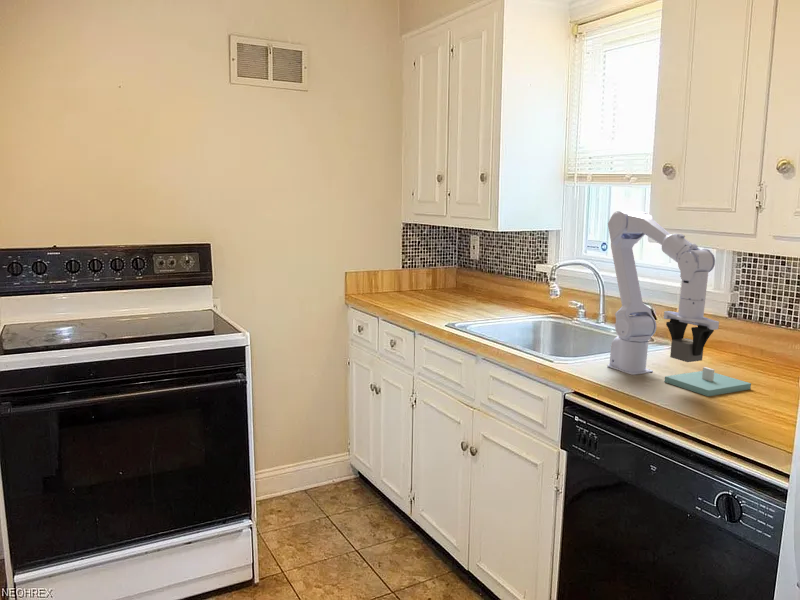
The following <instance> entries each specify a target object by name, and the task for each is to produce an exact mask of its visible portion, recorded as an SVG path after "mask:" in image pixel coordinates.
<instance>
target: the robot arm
mask: <svg viewBox="0 0 800 600" xmlns="http://www.w3.org/2000/svg"><path fill="white" fill-rule="evenodd" d="M607 228H608V232H609V239H610V248H611V256H612V260H613V264H614V269H615V275H616V280H617V285H618V291H619V297H620V302H621V303H620V304H621V307H620V308H619V309H618V310H617V311H616V312H615V314H614V315H615V325H614V328H615V332H616V334H617V336H616V337H614V339H613V340H612V341H611V343H610V344H611V345H610V351H609V352H610V355H609V363H608V364H607V365H606V366H607V367H608V368H611V369H613V370H617V371H620V372H623V373H625V374H628V375H631V376H636V375H641V374H642V375H643V374H648V373H650V374H651V373H653V370H652V369H650V368H647V359H648V348H649V341H650V340H651V337H652V336H654V335H655V333H656V331H657V322H656V319H655V317H654V316H653V314H652V309H651V308H650V307H649V306H647V305H646V304H645V303H644V302H643V298H642V294H641V289H640V288H641V286H640V281H639V278H638V271H637V268H636V261H635V256H634V251H633V248H634V246H635V245H636V244H637V243H638V242H640V240H642V239H643V237H644V236H647V237H648V238H650V239H652V240H653V241H655V242H656V243H658V244H660V245H661V251H662V252H663V253H664V254H665V255H666V256H668V257H669V258H670V259H672V260H673V261H675V262H676V263H677V266H678V269H679V273H680V275H679V276H680V279H681V284H680V286H681V287H680V294H679V304H678V311H671V310H664V311H663V319H664V320H669V321H666V322H665V324H666V327H667V328H668V329H667V330H668V331H669V334H670V338H671V341H672V340H675V339H684V337H685V336H684V335H685V333H686V329H687V327H688V324H689V325H694V326H693V327H691V328H690V329H691V333H692V340H693V355H694V356H698V355H701V353H702V350H703V351H704V348H705V345H706V343H707V342H708V339H709V338H710V337H711V336H712V335H713V333H714V332H715V330H719V324H720V321H718V320H714V319H712V318H708V317H705V316H704V314H705V308H706V307H705V304H706V297H707V287H708V278H709V273H710V272H711V271H713V269H714V267H715V264H716V259H715V255H714V254H713V253H712V251H711V250H710V249H707V248H702V249H701V248H699V247H698V245H697V244H696V243H692V242H690V241H689V240H688V239H686V238H685V237H686V236H685V235H684V234H683V233H672V234H671V233H670V232H669V231H668V230H666V229H665V228H664V227H663V226H662V225H661V224H659V223H658V222H657V221H656V220H655V219H654V216H653V215H651V214H649V213H648V212H646V211H621V210H617V211H615V212H613V213H612V215H611V216H610V219H609V220H608V222H607ZM703 347H704V348H703Z"/></svg>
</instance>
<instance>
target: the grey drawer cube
mask: <svg viewBox="0 0 800 600" xmlns="http://www.w3.org/2000/svg"><path fill="white" fill-rule="evenodd" d="M670 344H671V345H670V355H669V358H670V359H674V360H678V361H682V362H686V363H691V362H692V363H693V362H699V361H703V356H704V355H703V354H704V348H705V346H704V347H703V350H702V353H701V355H698V356H694V355H693V339H690V338H686V337H685V338H684V337H683V339H675V340H672V339H671V343H670Z"/></svg>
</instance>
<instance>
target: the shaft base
mask: <svg viewBox="0 0 800 600" xmlns="http://www.w3.org/2000/svg"><path fill="white" fill-rule="evenodd" d="M664 383H667V384H670V385H672V386H676V387H678V388H680V389H681V388H682V389H685V390H688V391H691V392H694V393H696V394H699V395H702V396H706V397H712V396H713V397H714V396H718V395H724V394H725V395H726V394H730V393H735V392H741V391H747V390H751V389H752V388H751V387H752V383H751V382H747V381H744V380H741V379H737V378H734V377H730V376H727V375H724V374H720V373H717V372H715V369H713V368H710V367H707V366H703V368H702V370H700V371H692V372H686V373H678V374H672V375H665V376H664Z"/></svg>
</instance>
